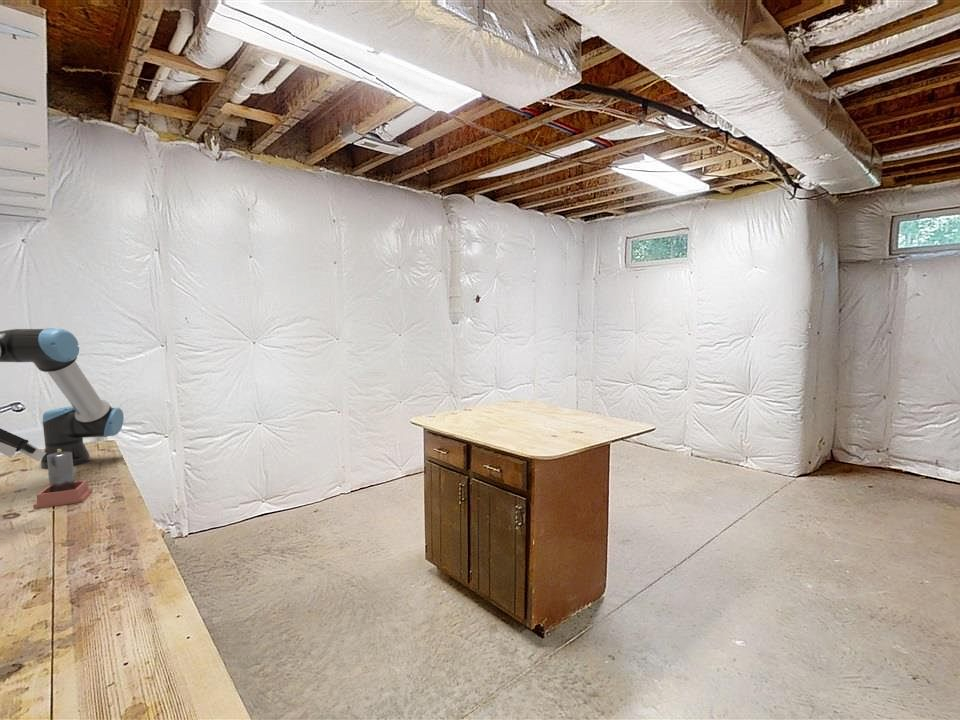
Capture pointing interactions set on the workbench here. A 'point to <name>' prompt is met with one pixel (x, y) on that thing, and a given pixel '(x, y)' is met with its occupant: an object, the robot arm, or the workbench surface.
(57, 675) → the workbench surface
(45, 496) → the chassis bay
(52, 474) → the motor housing
